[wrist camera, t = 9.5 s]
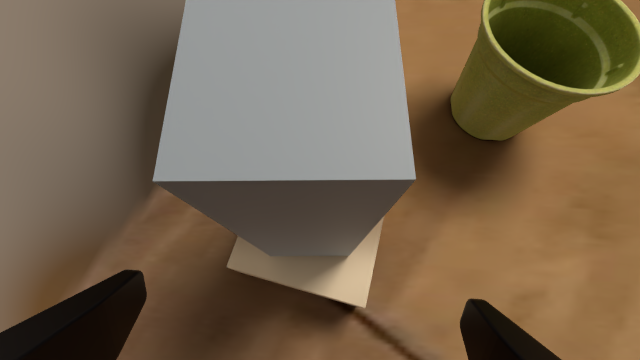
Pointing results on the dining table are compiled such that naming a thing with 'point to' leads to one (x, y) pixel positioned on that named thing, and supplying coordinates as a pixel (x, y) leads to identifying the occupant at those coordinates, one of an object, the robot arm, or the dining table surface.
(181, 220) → the dining table surface
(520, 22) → the plant pot
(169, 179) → the slate post
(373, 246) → the birch base
